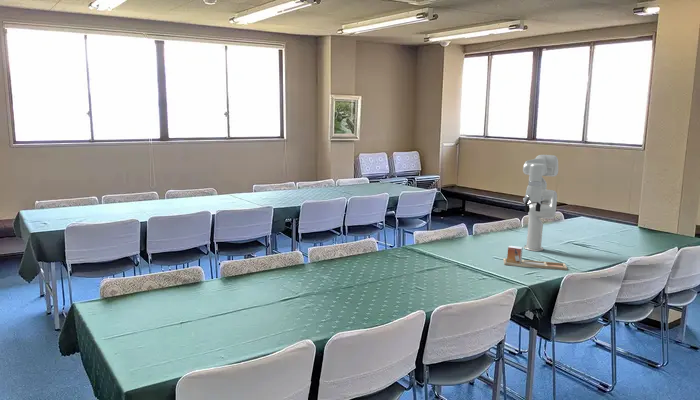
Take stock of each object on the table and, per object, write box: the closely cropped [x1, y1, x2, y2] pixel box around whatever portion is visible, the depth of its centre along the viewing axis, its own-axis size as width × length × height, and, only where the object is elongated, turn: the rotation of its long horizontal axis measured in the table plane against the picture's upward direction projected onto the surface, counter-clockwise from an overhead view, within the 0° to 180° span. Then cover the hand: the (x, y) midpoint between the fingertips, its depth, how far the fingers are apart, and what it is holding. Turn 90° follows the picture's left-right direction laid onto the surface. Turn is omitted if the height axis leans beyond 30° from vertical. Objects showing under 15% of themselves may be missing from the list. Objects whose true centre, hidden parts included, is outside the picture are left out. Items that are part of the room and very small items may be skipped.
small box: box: [506, 245, 524, 264], centre depth 324 cm, size 8×6×10 cm
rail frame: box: [502, 257, 568, 271], centre depth 322 cm, size 10×36×2 cm, turn 77°
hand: (532, 211), depth 327 cm, fingers open, 9 cm apart
